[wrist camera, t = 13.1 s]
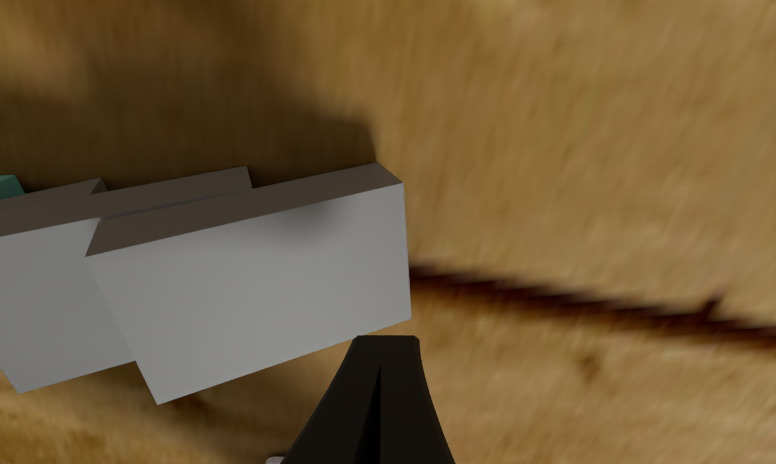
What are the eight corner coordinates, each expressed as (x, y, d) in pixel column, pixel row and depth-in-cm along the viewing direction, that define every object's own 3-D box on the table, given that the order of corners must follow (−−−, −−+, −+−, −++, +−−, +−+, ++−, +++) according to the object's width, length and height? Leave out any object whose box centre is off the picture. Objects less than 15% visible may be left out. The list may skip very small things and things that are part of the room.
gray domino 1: (251, 186, 13) (-83, 253, 11) (284, 318, 15) (18, 393, 13) (246, 165, 14) (-43, 219, 12) (277, 287, 17) (40, 349, 15)
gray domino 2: (403, 183, 12) (84, 257, 10) (411, 318, 15) (157, 405, 12) (377, 162, 14) (98, 221, 12) (388, 287, 16) (160, 358, 14)
